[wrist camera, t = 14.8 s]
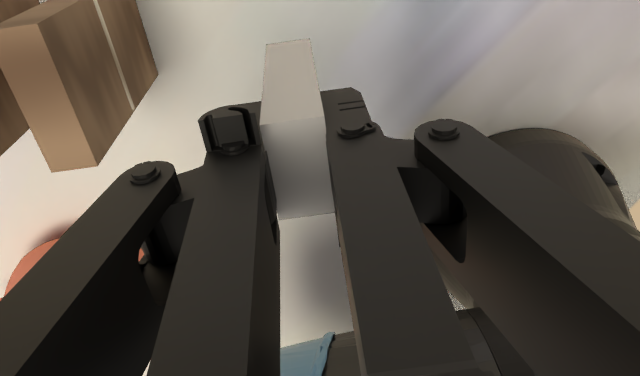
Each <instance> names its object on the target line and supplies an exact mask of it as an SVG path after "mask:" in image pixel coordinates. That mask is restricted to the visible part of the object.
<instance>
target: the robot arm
mask: <svg viewBox="0 0 640 376" xmlns="http://www.w3.org/2000/svg"><path fill="white" fill-rule="evenodd" d="M198 123H199V126H200V130H201V133H202V137H203V141H204V144H205V148H206V151H207V153H206V157H205V161H204V164H203V166H201V167H199V168H196V169H193V170H191V171H187V172H184V173H181V174H178V175H177V174H176V171H175V168H174V166H173V165H172V164H171V163H169V162H164V161H154V162H151V161H148V162H143V164H142V163H140V164H137V165H135V166H134V167H133V168H131V169H128V170H127V171H125V172H124V173H123V174H121V175H120V176H119V177H118V178H117V179H116V180H115V181H114V182H113V183H112V184H111V185H110V186H109V187H108V189H107V190H106V191H105V192H104V193H103V194H102V195H101V196H100V197H99V198H98V199H97V200H96V201H95V202H94V203H93V204H92V205H91V206H90V207H89V208H88V209H87V210H86V212H85V213H84V214H83V215H82V216H81V217H80V218H79V219H78V220H77V221H76V222H75V223H74V224H73V225H72V226H71V227H70V228H69V229H68V230H67V231H66V232H65V233H64V235H63V236H62V237H61V238H60V239H59V240H58V241H57V242H56V243H55V244H54V245H53V246H52V247H51V248H50V249H49V250H48V251H47V252H46V253H45V254H44V255H43V256H42V258H41V259H40V260H39V261H38V262H37V263H36V264H35V265H34V266H33V267H32V268H31V269H30V270H29V271H28V272H27V273H26V274H25V275H24V276H23V277H22V278H21V280H20V281H19V282H18V283H17V284H16V285H15V286H14V287H13V288H12V289H11V290H10V291H9V292H8V293H7V294H6V295H5V296H4V297H3V298H2V299H1V300H0V376H142V375H143V373H144V371H145V369H146V367H147V365H148V364H149V362H150V365H149V369H148V372H147V376H640V232H639V231H638V230H637V228H636V226H635V224H634V221H633V219H632V216H631V214H630V212H629V209H628V207H627V205H626V202H625V200H624V198H623V195H622V193H621V190H620V188H619V186H618V183H617V181H616V179H615V177H614V175H613V173H612V171H611V170H610V169H609V167H608V166H607V165H606V163H605V162H604V161H603V160H602V159H601V158H600V157H599V156H598V155H596V154H595V153H594V152H593V151H592V150H590V149H589V148H588V147H587V146H586V145H585V144H583V143H582V142H580V141H579V140H577V139H576V138H574V137H572V136H570V135H567V134H565V133H562V132H558V131H554V130H548V129H520V130H514V131H509V132H504V133H501V134H498V135H494V136H492V137H489V138H487V137H486V136H484V135H483V134H482V133H480V132H479V131H477V130H476V129H474V128H473V127H471V126H470V125H467V124H465V123H463V122H459V121H454V120H452V119H446V120H444V119H438V120H436V121H430V122H427V123H425V124H422V125H420V126H419V127H418V128H417V129H415V133H414V140H406V139H394V138H389V137H386V136H384V135H383V132H382V130H381V127H380V126H379V125H378V124H377V123H374V122H372V121H371V118H370V116H369V113H368V111H367V108H366V105H365V103H364V101H363V98H362V95H361V93H360V92H358V91H357V90H355V89H353V88H352V87H350V88H343V89H336V90H328V91H321V92H320V91H319V85H318V80H317V75H316V70H315V64H314V59H313V54H312V49H311V44H310V38H309V39H302V40H294V41H287V42H280V43H273V44H266V56H265V67H264V79H263V91H262V101H259V102H252V103H245V104H238V105H229V106H224V107H219V108H216V109H214V110H211V111H209V112H207V113H205V114H204V115H202V116H201V117H200V119H199V120H198ZM277 212H278V217H279V220H284V219H292V218H299V217H306V216H313V215H320V214H328V213H335V215H336V223H337V231H338V239H339V247H341V254H342V260H343V266H344V272H345V278H346V285H347V291H348V297H349V303H350V309H351V315H352V322H353V328H354V331H351V332H346V333H341V334H336V335H335V332H329V333H327V334H326V335H324V337H323V338H319V339H315V340H311V341H307V342H303V343H299V344H295V345H291V346H287V347H283V348H280V230H279V225H278V220H277V216H276V215H277ZM140 248H142V250H143V253H144V255H143V257H142V258H141V260H140V261H139V260H138V259H139V250H140ZM447 290H448V291H449V292H450V293H451V294H452V295H453V296H454V297H455V298H456V299H457V300H458V301H459V302H460V303H461V304H462V305H463V306H464V307H465V308H466V310H458V311H455V309H454V307H453V304H452V302H451V299H450V297H449V294H448V292H447ZM150 360H151V361H150Z"/></svg>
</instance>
